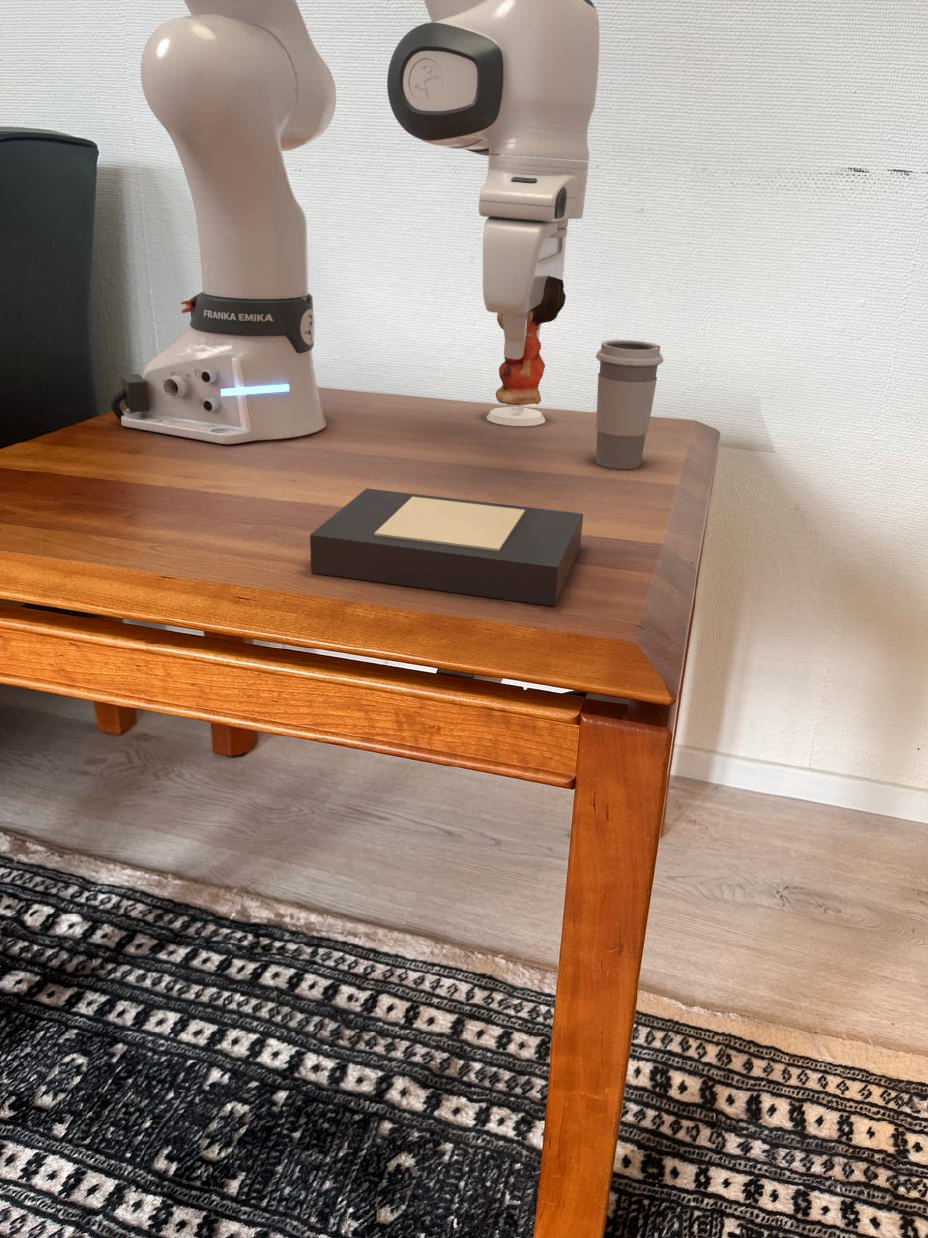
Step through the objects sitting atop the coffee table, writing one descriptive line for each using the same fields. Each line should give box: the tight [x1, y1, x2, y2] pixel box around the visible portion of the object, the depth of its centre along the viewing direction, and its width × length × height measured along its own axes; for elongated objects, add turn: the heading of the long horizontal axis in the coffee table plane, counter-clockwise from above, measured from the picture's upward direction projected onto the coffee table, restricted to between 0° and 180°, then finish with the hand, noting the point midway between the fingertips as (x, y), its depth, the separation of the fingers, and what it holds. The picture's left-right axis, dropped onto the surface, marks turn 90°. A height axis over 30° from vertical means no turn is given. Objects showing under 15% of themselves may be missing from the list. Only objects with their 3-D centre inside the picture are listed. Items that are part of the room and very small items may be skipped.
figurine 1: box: [495, 276, 567, 406], centre depth 93 cm, size 6×6×12 cm
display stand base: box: [309, 488, 584, 607], centre depth 74 cm, size 18×12×3 cm, turn 75°
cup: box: [595, 339, 664, 470], centre depth 100 cm, size 7×7×12 cm
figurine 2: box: [485, 405, 546, 427], centre depth 116 cm, size 7×7×12 cm
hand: (521, 352), depth 94 cm, fingers closed on figurine 1, 5 cm apart
